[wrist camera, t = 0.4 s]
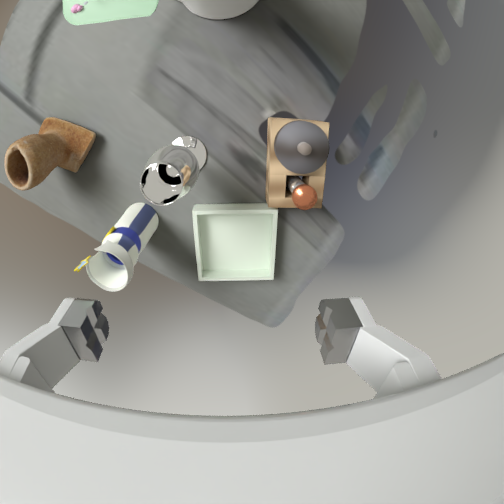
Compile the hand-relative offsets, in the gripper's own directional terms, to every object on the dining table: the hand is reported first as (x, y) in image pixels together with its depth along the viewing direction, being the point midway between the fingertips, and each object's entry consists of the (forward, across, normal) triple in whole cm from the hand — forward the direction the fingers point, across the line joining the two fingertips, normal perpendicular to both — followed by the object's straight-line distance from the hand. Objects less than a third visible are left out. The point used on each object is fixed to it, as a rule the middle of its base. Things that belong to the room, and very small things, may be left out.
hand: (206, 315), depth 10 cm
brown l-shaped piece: (+45, +35, -3) cm, 57 cm away
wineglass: (+45, +8, +2) cm, 46 cm away
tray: (+45, -1, +20) cm, 49 cm away
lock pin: (+45, -12, +7) cm, 47 cm away
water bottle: (+45, +19, +15) cm, 51 cm away
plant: (+45, +24, -37) cm, 63 cm away
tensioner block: (+45, -12, +3) cm, 46 cm away
